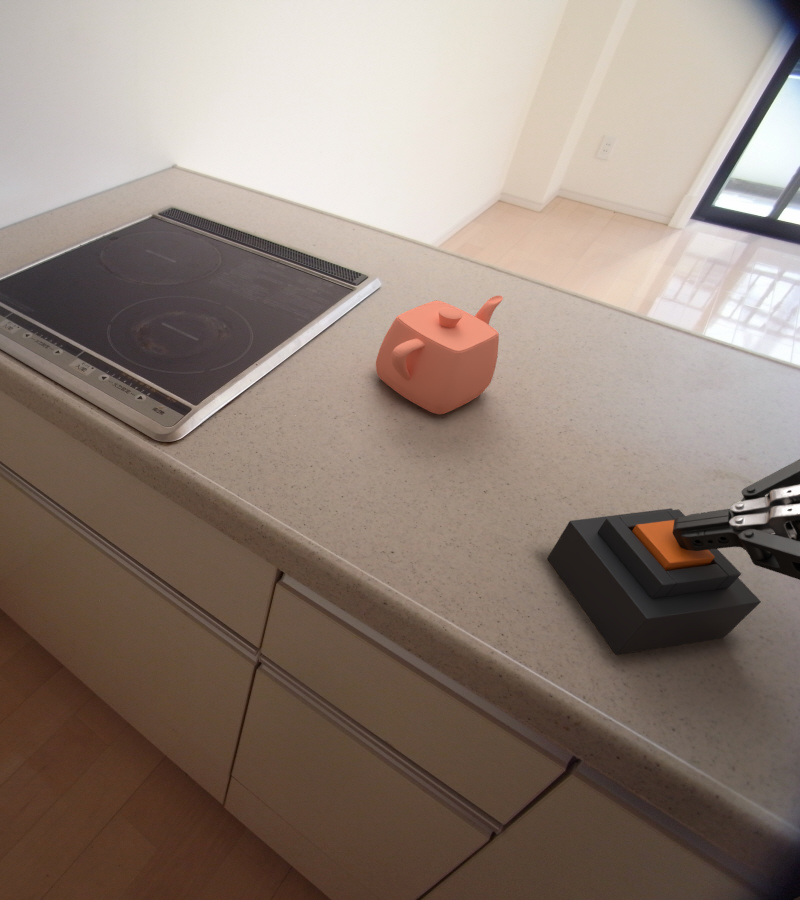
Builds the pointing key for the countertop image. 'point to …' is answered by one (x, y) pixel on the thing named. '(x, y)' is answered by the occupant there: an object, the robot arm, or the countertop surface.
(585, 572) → the push button box
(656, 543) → the key
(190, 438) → the countertop surface
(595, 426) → the countertop surface
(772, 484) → the robot arm
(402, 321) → the teapot
